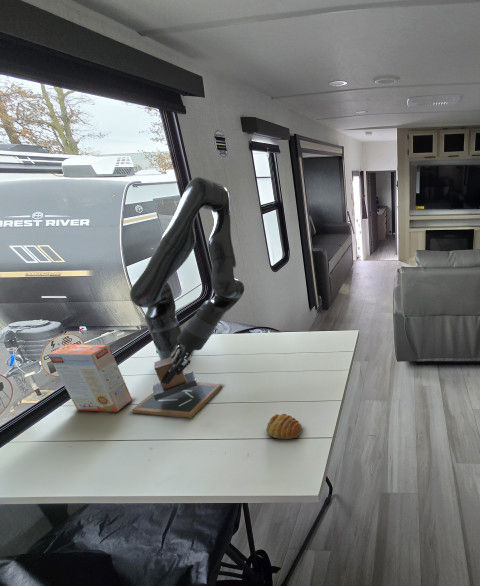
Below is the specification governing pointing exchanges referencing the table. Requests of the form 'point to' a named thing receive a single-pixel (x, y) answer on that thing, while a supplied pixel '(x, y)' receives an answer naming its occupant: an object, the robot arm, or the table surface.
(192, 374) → the eraser
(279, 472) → the table surface
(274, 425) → the pastry
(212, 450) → the table surface
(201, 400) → the board
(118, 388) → the cracker box
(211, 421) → the table surface
